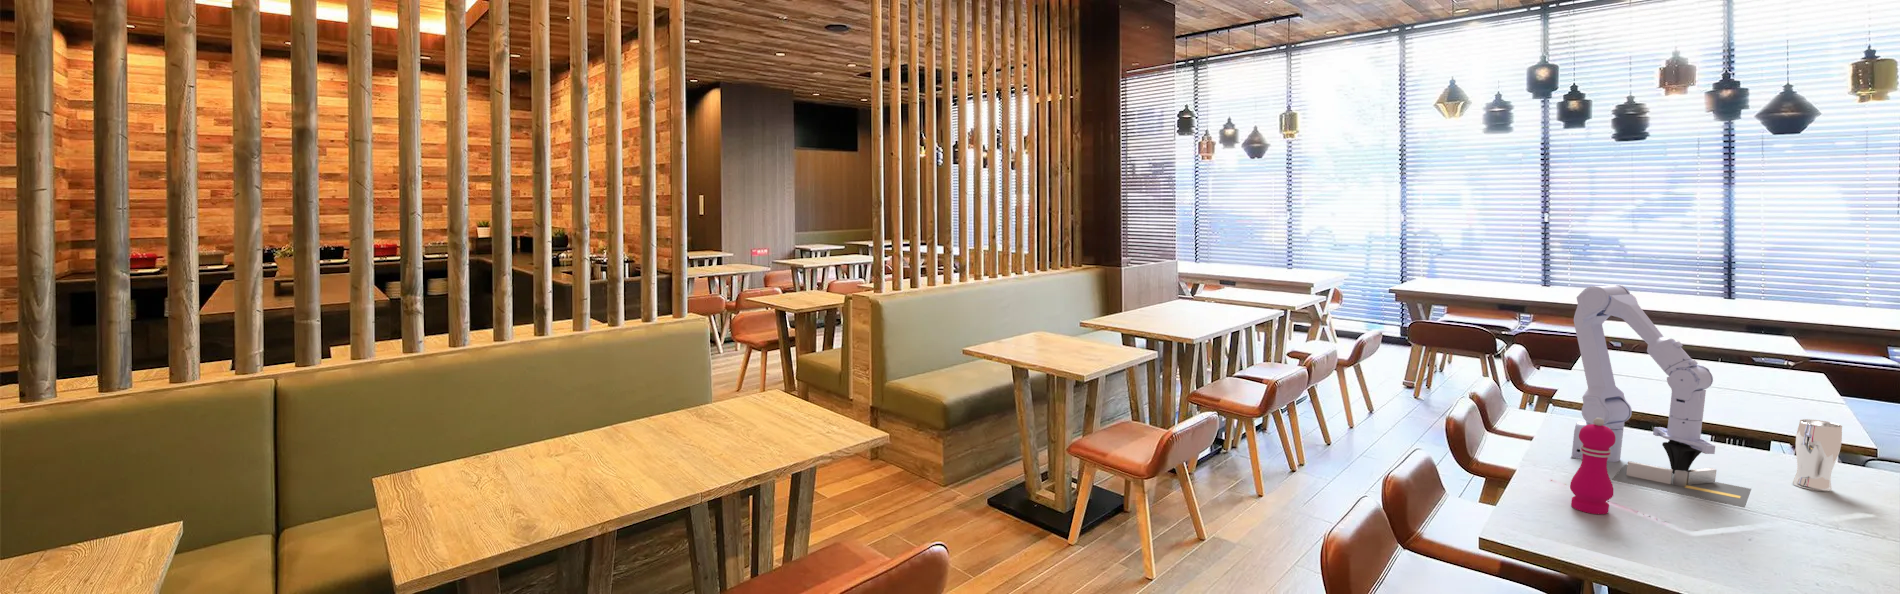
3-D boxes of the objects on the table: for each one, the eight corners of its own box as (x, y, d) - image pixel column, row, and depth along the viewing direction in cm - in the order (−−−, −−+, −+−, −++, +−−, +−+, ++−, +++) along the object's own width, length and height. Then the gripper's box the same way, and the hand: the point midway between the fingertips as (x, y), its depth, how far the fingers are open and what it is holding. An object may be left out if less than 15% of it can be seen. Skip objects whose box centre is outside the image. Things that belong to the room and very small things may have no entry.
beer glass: (1813, 482, 186) (1822, 419, 184) (1843, 493, 179) (1853, 428, 177) (1780, 481, 187) (1789, 418, 185) (1809, 492, 180) (1818, 427, 178)
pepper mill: (1619, 516, 166) (1629, 423, 164) (1579, 514, 168) (1589, 421, 165) (1598, 503, 173) (1608, 414, 171) (1561, 501, 175) (1570, 412, 172)
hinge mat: (1611, 483, 186) (1613, 466, 185) (1624, 467, 196) (1626, 451, 196) (1744, 510, 169) (1746, 492, 169) (1750, 492, 180) (1752, 475, 179)
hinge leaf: (1687, 484, 182) (1689, 472, 181) (1682, 483, 183) (1683, 470, 182) (1714, 482, 183) (1716, 469, 183) (1709, 480, 184) (1710, 467, 184)
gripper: (1642, 409, 192) (1636, 463, 194) (1694, 426, 178) (1687, 484, 180) (1673, 409, 192) (1667, 464, 194) (1727, 426, 178) (1720, 485, 179)
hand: (1679, 474), depth 187 cm, fingers closed
